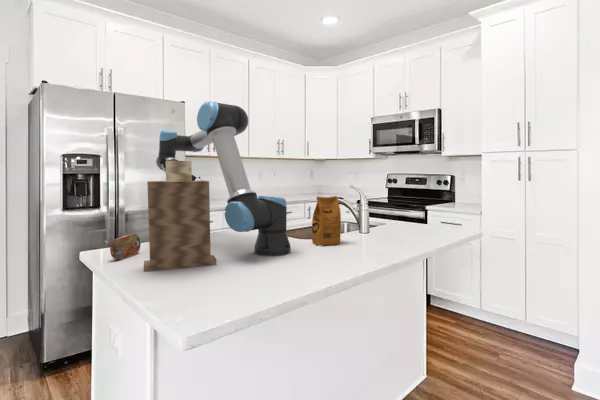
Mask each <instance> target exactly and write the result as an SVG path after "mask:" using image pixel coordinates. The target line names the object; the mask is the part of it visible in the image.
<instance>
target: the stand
mask: <svg viewBox="0 0 600 400" xmlns="http://www.w3.org/2000/svg"><path fill="white" fill-rule="evenodd" d="M146 185H147V206H148V207H147V211H148V240H149V245H148V246H149V259H148V260H144V261H143V272H152V271H164V270H173V269H174V270H175V269H186V268H195V267H206V266H207V267H208V266H216V265H217V258H216V256H215V255H214V254H212V253H211V215H210V214H211V213H210V211H211V210H210V209H211V208H210V207H211V205H210V204H211V203H210V202H211V201H210V181H209V180H203V181H192V182H166V180H154V181H153V180H151V181H149V180H148V181H147V183H146Z"/></svg>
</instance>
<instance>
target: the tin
mask: <svg viewBox="0 0 600 400" xmlns="http://www.w3.org/2000/svg"><path fill="white" fill-rule="evenodd" d="M140 250H141V239H140V236H138V235H137V234H135V233H134V234H127V235H123V236H120V237H117V238H114V239H113V240H112V241H111V243H110V246H109V251H110V255H111V257H112V258H113V259H114V260H118V261H119V260H120V261H121V260H122V261H123V260H125V259H129V258H130V257H134V256H135V255H138V253H139V252H140Z"/></svg>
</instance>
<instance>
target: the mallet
mask: <svg viewBox="0 0 600 400" xmlns="http://www.w3.org/2000/svg"><path fill="white" fill-rule="evenodd" d="M192 175H193V171H192V160H178V161H166V174H165V181H166V182H192Z"/></svg>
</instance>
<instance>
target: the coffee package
mask: <svg viewBox="0 0 600 400" xmlns="http://www.w3.org/2000/svg"><path fill="white" fill-rule="evenodd" d="M339 203H340V202H339V198H338V196H337V195H334V196H329V197H328V196H316V205H315V209H314V211H313V214H312V220H311V242H312V244H314V245H315V246H318V245H324V246H335V244H336V245H340V244H341V235H342V234H341V229H342V228H341V226H342V222H341V220H342V218H341V216H342V214H341V208H340V204H339Z"/></svg>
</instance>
